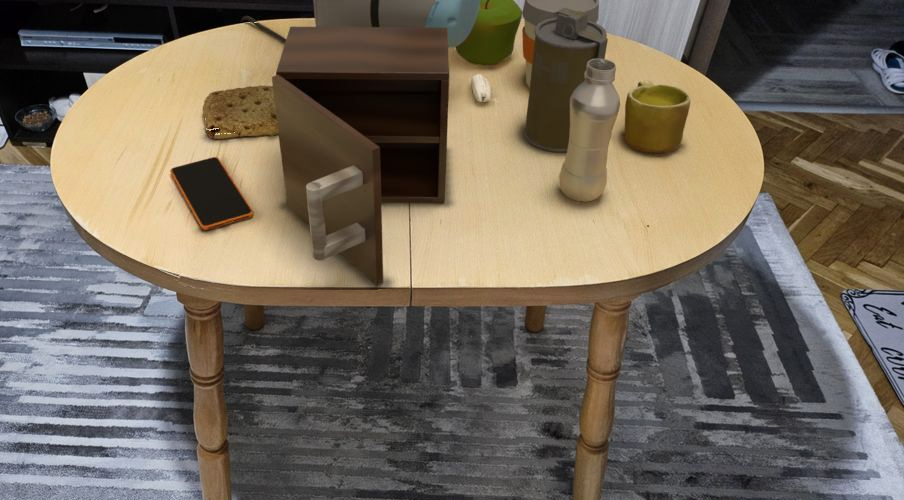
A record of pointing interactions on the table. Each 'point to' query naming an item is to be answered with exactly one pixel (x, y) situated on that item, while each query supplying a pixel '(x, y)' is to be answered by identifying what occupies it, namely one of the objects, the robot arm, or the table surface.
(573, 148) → the plastic bottle
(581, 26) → the canister
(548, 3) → the reusable coffee cup
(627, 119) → the mug
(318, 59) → the cupboard
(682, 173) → the table surface
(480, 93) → the white ridged oblong
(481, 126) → the table surface
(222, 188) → the smartphone
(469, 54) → the apple
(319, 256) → the cupboard door
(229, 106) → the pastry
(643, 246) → the table surface
